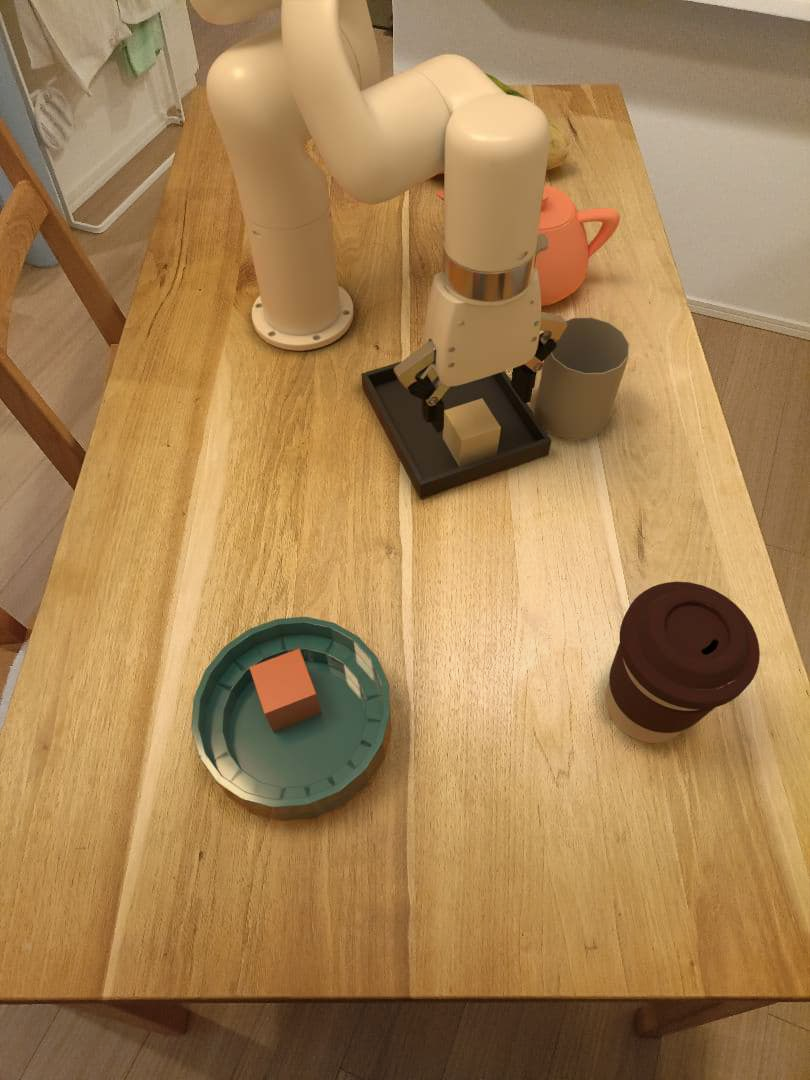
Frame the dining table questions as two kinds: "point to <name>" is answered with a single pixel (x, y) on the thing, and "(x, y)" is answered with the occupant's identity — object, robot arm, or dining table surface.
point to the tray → (426, 447)
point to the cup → (581, 379)
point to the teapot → (566, 243)
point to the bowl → (304, 747)
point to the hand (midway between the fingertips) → (477, 407)
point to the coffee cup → (678, 660)
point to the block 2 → (471, 432)
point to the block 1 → (285, 690)
